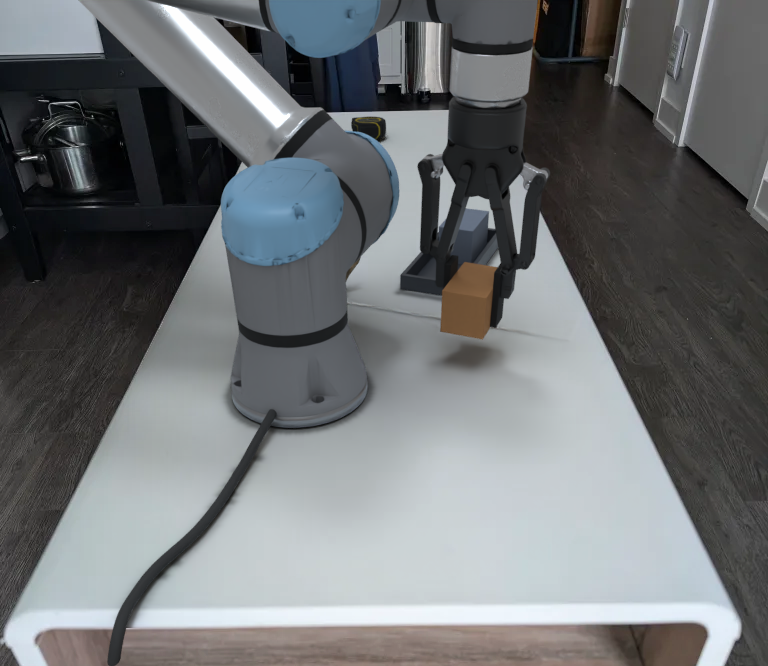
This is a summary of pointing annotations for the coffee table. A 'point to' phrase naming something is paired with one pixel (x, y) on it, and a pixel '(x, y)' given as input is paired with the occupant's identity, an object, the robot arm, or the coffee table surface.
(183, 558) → the coffee table surface
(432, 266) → the carrier tray
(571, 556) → the coffee table surface
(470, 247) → the grey block
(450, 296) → the brown block
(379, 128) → the tape measure
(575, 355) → the coffee table surface
